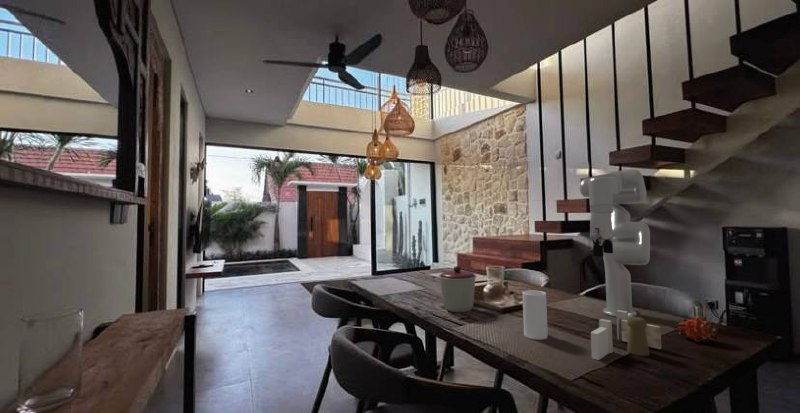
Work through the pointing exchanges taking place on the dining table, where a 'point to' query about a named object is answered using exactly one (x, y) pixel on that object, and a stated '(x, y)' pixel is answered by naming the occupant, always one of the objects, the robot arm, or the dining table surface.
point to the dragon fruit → (697, 329)
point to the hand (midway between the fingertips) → (603, 254)
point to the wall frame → (605, 336)
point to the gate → (651, 332)
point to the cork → (637, 337)
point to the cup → (535, 314)
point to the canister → (458, 289)
